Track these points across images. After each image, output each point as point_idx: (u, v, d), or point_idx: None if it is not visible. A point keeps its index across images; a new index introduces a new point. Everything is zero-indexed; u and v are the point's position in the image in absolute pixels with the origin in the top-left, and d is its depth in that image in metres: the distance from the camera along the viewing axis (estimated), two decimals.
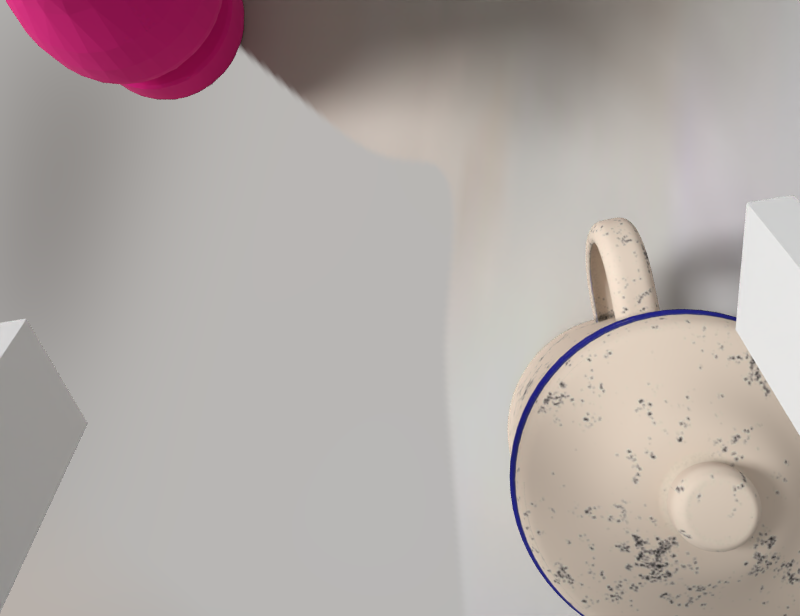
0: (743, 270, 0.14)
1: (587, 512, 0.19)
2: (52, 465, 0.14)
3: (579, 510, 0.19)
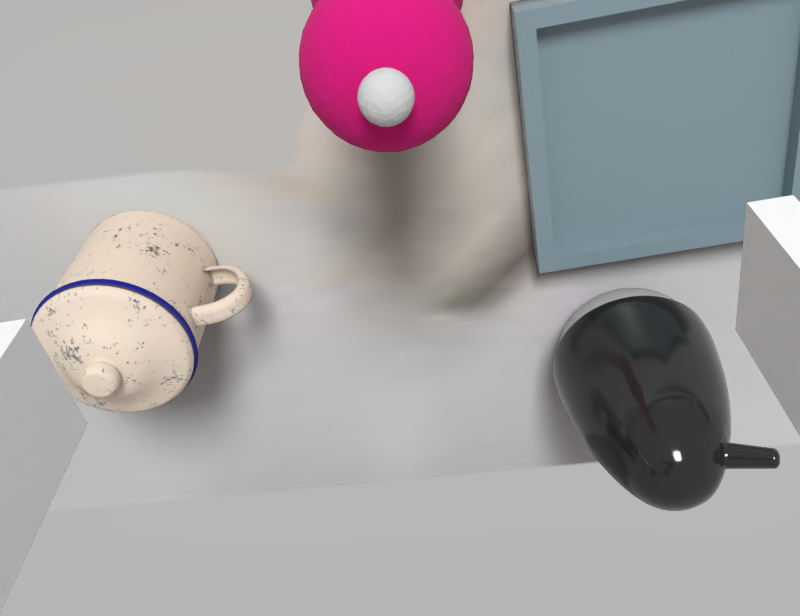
0: (743, 270, 0.14)
1: (84, 324, 0.40)
2: (52, 465, 0.14)
3: (84, 320, 0.40)
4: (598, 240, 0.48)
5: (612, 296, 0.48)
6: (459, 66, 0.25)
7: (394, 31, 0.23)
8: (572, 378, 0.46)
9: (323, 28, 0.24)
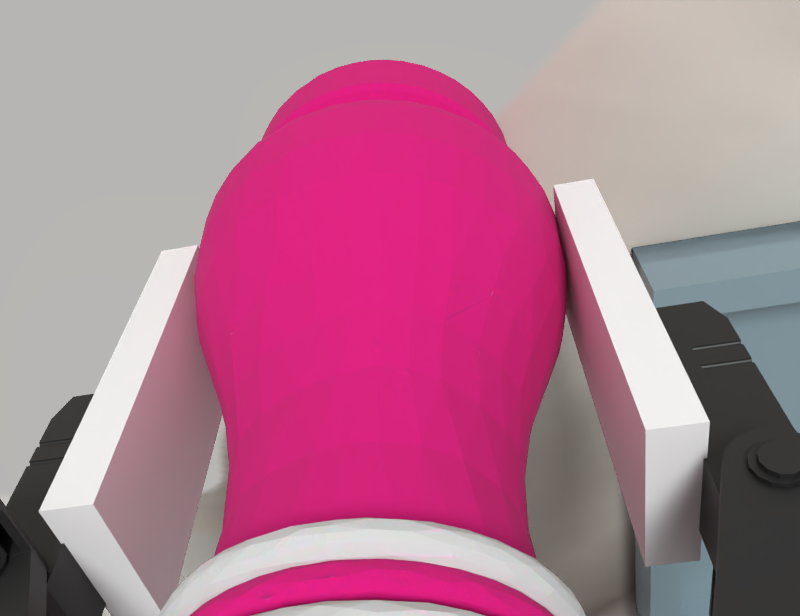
0: None
1: None
2: None
3: None
4: None
5: None
6: None
7: None
8: None
9: None
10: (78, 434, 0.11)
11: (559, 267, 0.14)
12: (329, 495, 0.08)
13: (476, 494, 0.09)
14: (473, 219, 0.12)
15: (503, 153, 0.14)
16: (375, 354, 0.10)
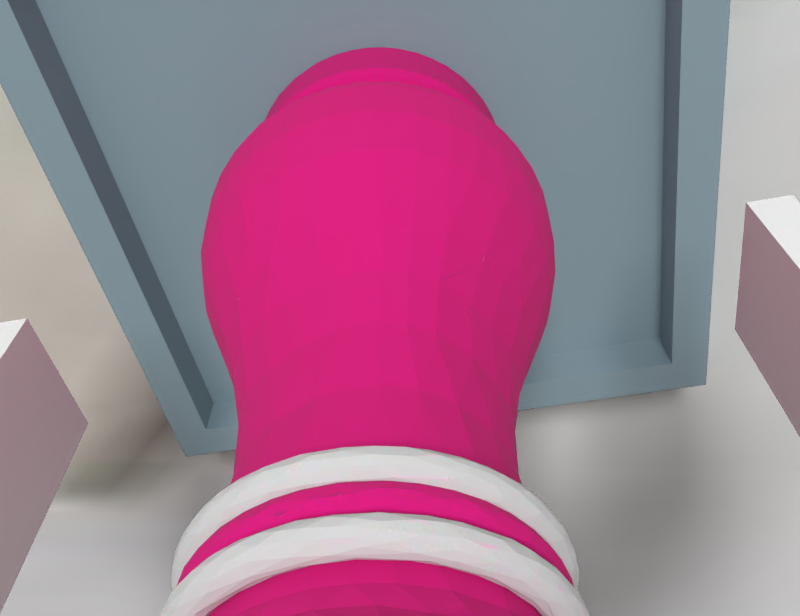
0: (743, 270, 0.14)
1: None
2: (53, 465, 0.14)
3: None
4: None
5: None
6: None
7: None
8: None
9: None
10: None
11: (547, 239, 0.14)
12: (334, 431, 0.09)
13: (469, 433, 0.10)
14: (466, 191, 0.13)
15: (493, 131, 0.14)
16: (375, 311, 0.11)
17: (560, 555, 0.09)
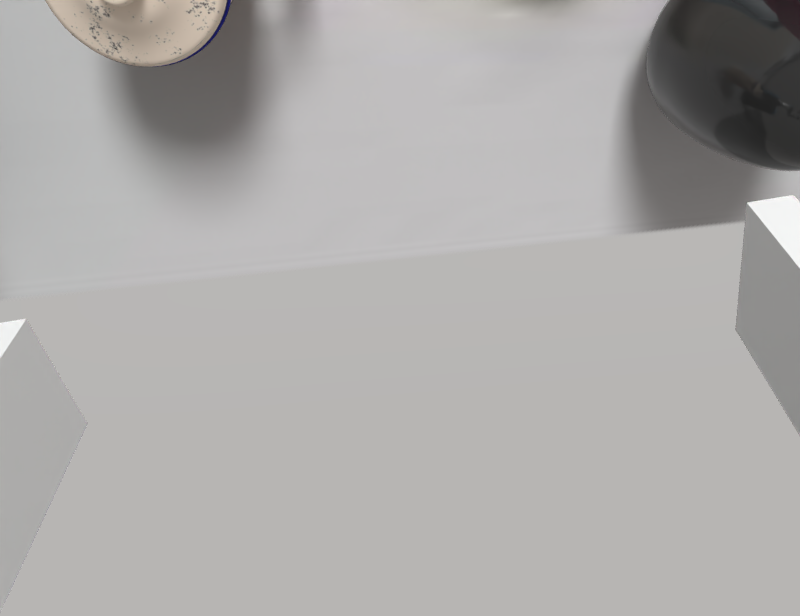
0: (743, 270, 0.14)
1: None
2: (52, 465, 0.14)
3: None
4: None
5: None
6: None
7: None
8: (679, 41, 0.39)
9: None
10: None
11: None
12: None
13: None
14: None
15: None
16: None
17: None
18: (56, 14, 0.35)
